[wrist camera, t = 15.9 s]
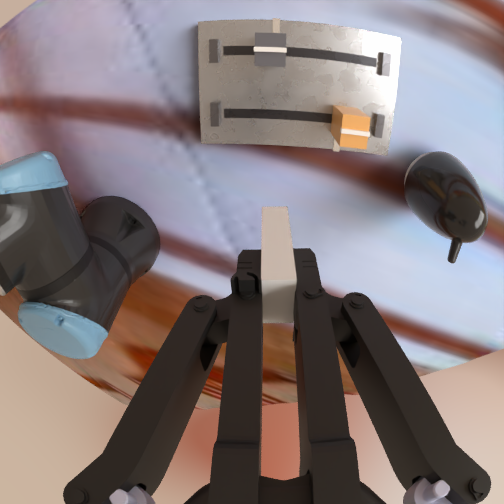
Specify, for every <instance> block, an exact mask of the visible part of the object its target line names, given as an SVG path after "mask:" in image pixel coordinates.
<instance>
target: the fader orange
mask: <svg viewBox="0 0 504 504" xmlns="http://www.w3.org/2000/svg"><path fill="white" fill-rule="evenodd" d="M370 119H371V118H370V117H369V116H368V115H366V114H365V113H364V112H362V111H361V110H359V109H358V108H354V107H347V106H339V105H333V111H332V123H331V134H332V136H333V137H334V139H335V140H336V142H337V143H338V145H339V146H340V147H350V148H358V149H366V148H367V142H368V137H370V132H369V127H370Z"/></svg>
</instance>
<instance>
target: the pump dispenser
mask: <svg viewBox="0 0 504 504" xmlns="http://www.w3.org/2000/svg"><path fill="white" fill-rule="evenodd" d="M404 194H405V199H406V202H407V204H408V206H409V208H410V209H411V210H412V212H413V213H414V214H415V215H416V216H417V217H418V218H419V219H420V220H421V221H422V222H423V223H424V224H425V225H426V226H427V227H429V228H430V229H431V230H433V231H434V232H436V233H437V234H439V235H441V236H443V237H445V238H447V239H450V240H452V241H451V246H450V250H449V255H448V261H449V262H450V263H455V261H456V259H457V256H458V253H459V251H460V248H461V246H462V243H472V242H475V241H477V240H478V239H480V238H481V237H482V235H483V234H484V232H485V230H486V228H487V223H488V213H487V207H486V203H485V200H484V197H483V195H482V192H481V190H480V188H479V186H478V184H477V182H476V180H475V179H474V177H473V176H472V174H471V173H470V171H469V170H468V169H467V168H466V167H465V165H464V164H463V163H462V162H461V161H460V160H458V159H457V158H456V157H455V156H453V155H451V154H449V153H446V152H429V153H425V154H422V155H421V156H419V157H417V158H416V159H415V160H414V161H413V162H412V163H411V165H410V166H409V168H408V170H407V172H406V175H405V181H404Z"/></svg>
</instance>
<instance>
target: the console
mask: <svg viewBox="0 0 504 504" xmlns="http://www.w3.org/2000/svg"><path fill="white" fill-rule="evenodd" d="M255 32H258V33H286V48H287V53H286V66H285V67H271V66H254V60H255V52H254V47H255ZM400 47H401V38H398V37H394V36H390V35H386V34H381V33H376V32H372V31H366V30H361V29H355V28H349V27H343V26H336V25H329V24H320V23H311V22H299V21H284V20H280V19H276V18H273V20H218V21H203V22H198V63H199V101H200V126H201V144H262V145H283V146H299V147H313V148H325V149H333V151H338V152H339V150H345V151H354V152H363V153H371V154H378V155H385V156H387V154H388V148H389V142H390V136H391V129H392V123H393V115H394V108H395V100H396V92H397V82H398V72H399V61H400ZM333 105H339V106H347V107H354V108H358V109H359V110H361V111H362V112H364V113H365V114H366V115H368V116H369V117H370V118H371V119H370V127H369V132H370V137H368V142H367V148H366V149H358V148H350V147H340V146H339V145H338V143H337V142H336V140H335V139H334V137H333V136H332V134H331V123H332V111H333Z"/></svg>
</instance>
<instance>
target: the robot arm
mask: <svg viewBox="0 0 504 504" xmlns="http://www.w3.org/2000/svg"><path fill="white" fill-rule="evenodd" d="M159 250H160V238H159V234H158V231H157V228H156V226H155V224H154V222H153V221H152V219H151V218H150V217H149V216H148V214H147V213H146V212H145V211H144V210H143V209H141V208H140V207H139V206H138V205H136V204H135V203H133V202H131V201H129V200H126V199H124V198H120V197H115V196H106V197H101V198H98V199H96V200H94V201H93V202H92V203H90V204H89V205H88V206H87V207H86V209H85V210H84V211H83V212H82V213H81V215H80V217H79V214H78V212H77V210H76V207H75V204H74V202H73V199H72V196H71V194H70V191H69V188H68V181H67V180H66V179H65V178H64V175H63V173H62V171H61V168H60V166H59V163H58V161H57V159H56V157H55V156H54V155H53V154H52V153H50V152H48V151H40V152H35V153H32V154H29V155H26V156H23V157H20V158H17V159H14V160H12V161H9V162H7V163H4V164H2V165H0V295H3V296H4V295H6V294H7V293H8V292H9V291H10V290H11V289H13V288H14V287H16V288H17V290H18V292H19V293H20V295H21V296H22V298H23V300H24V302H23V303H22V304H21V305H20V306H19V311H18V319H19V322H20V324H21V325H22V327H23V328H24V330H25V331H26V332H27V333H28V334H29V335H30V336H31V337H32V338H34V339H35V340H36V341H37V342H39V343H40V344H42V345H43V346H45V347H46V348H48V349H50V350H52V351H54V352H56V353H58V354H61V355H63V356H66V357H70V358H75V359H87V358H90V357H92V356H94V355H95V354H96V353H97V352H98V350H99V348H100V347H101V345H102V343H103V341H104V339H106V338H107V336H108V333H109V330H110V328H111V326H112V324H113V321H114V319H115V317H116V315H117V313H118V310H119V308H120V306H121V304H122V302H123V300H124V298H125V296H126V294H127V291H128V289H129V288H130V286H131V285H132V284H133V283H134V282H135V281H136V280H137V279H138V278H139V277H140V276H142V275H144V274H145V273H146V272H148V271H149V270H150V268H151V267H152V266H153V264H154V262H155V260H156V258H157V256H158V254H159ZM231 289H232V294H230V295H229V296H228V297H226V298H223V299H220V300H216V301H215V300H214V299H213V298H212V297H209V296H207V295H199V296H195V297H193V298H192V299H190V300H189V301H188V302H187V304H186V306H185V307H184V309H183V311H182V312H181V314H180V316H179V318H178V319H177V321H176V323H175V324H174V326H173V328H172V330H171V331H170V333H169V335H168V336H167V338H166V340H165V342H164V343H163V345H162V347H161V349H160V350H159V352H158V354H157V356H156V357H155V359H154V361H153V363H152V364H151V366H150V368H149V370H148V371H147V373H146V375H145V377H144V378H143V380H142V382H141V384H140V386H139V387H138V389H137V391H136V393H135V394H134V396H133V398H132V400H131V402H130V403H129V405H128V407H127V409H126V411H125V413H124V414H123V416H122V418H121V420H120V422H119V424H118V425H117V427H116V429H115V431H114V433H113V435H112V436H111V438H110V440H109V442H108V444H107V446H106V448H105V450H104V451H103V453H102V454H101V455H100V456H99V457H98V458H97V459H95V460H94V461H93V462H92V463H91V464H90V465H89V466H88V467H86V468H85V469H84V470H83V471H82V472H81V473H79V474H78V475H77V476H76V477H75V478H74V479H72V480H71V481H70V482H69V483H68V484H67V486H66V487H65V489H64V493H63V497H64V501H65V503H66V504H155V502H154V500H153V498H152V497H151V496H152V495H153V493H154V492H155V491H156V489H157V488H158V486H159V485H160V483H161V481H162V479H163V477H164V475H165V473H166V471H167V469H168V467H169V464H170V462H171V460H172V458H173V455H174V453H175V451H176V449H177V446H178V444H179V442H180V440H181V437H182V435H183V433H184V430H185V428H186V426H187V424H188V421H189V419H190V417H191V415H192V412H193V410H194V408H195V405H196V403H197V401H198V399H199V396H200V394H201V392H202V389H203V387H204V385H205V383H206V380H207V378H208V376H209V373H210V371H211V369H212V367H213V364H214V362H215V360H216V357H217V355H218V353H219V350H220V348H221V346H222V343H225V342H227V346H226V355H225V365H224V374H223V384H222V394H221V404H220V415H219V425H218V436H217V441H216V442H215V444H214V448H213V456H212V467H211V478H210V483H209V484H207V485H205V486H203V487H202V488H201V489H199V490H198V491H197V492H196V493H195V494H194V495H193V496H191V498H189V499H188V500H187V501H186V502H185V503H184V504H386V503H385V502H384V501H383V500H382V499H381V498H379V497H378V496H377V495H376V494H375V493H374V492H373V491H372V490H371V489H370V488H369V487H368V486H366V485H365V484H364V483H362V482H361V481H360V479H359V470H358V460H357V452H356V446H355V442H354V440H353V439H352V438H351V437H350V434H349V427H348V420H347V412H346V405H345V398H344V391H343V385H342V378H341V372H340V366H339V360H338V354H337V349H338V351H339V353H340V355H341V357H342V359H343V361H344V363H345V365H346V367H347V370H348V372H349V374H350V376H351V378H352V380H353V382H354V384H355V386H356V389H357V391H358V393H359V395H360V397H361V399H362V401H363V403H364V406H365V408H366V410H367V412H368V414H369V417H370V419H371V421H372V423H373V425H374V427H375V430H376V432H377V434H378V436H379V439H380V441H381V443H382V445H383V447H384V449H385V452H386V454H387V457H388V459H389V461H390V463H391V466H392V468H393V470H394V472H395V474H396V476H397V478H398V480H399V481H400V483H401V484H402V486H403V487H404V488H405V489H406V493H405V495H404V499H403V504H476V503H479V502H481V501H483V500H484V498H486V497H487V495H488V493H489V491H490V488H491V480H490V476H489V475H488V474H487V472H486V471H485V470H484V469H482V468H481V467H480V466H479V465H478V464H477V463H476V462H475V461H474V460H473V459H472V458H470V457H469V456H468V455H467V454H466V453H465V452H464V451H463V450H462V449H461V448H459V447H458V446H457V445H456V443H455V442H454V440H453V438H452V436H451V434H450V432H449V430H448V428H447V426H446V424H445V423H444V421H443V419H442V417H441V415H440V414H439V412H438V410H437V408H436V406H435V404H434V403H433V401H432V399H431V397H430V396H429V394H428V392H427V390H426V389H425V387H424V385H423V383H422V382H421V380H420V378H419V377H418V375H417V373H416V372H415V370H414V368H413V367H412V365H411V363H410V362H409V360H408V358H407V357H406V355H405V353H404V352H403V350H402V348H401V347H400V345H399V344H398V342H397V340H396V339H395V337H394V336H393V334H392V333H391V331H390V329H389V328H388V326H387V325H386V323H385V322H384V320H383V318H382V317H381V315H380V314H379V312H378V311H377V309H376V308H375V306H374V305H373V303H372V302H371V300H370V299H369V298H368V297H367V296H366V295H364V294H362V293H357V292H354V293H349V294H347V295H346V296H345V297H344V298H339V297H334V296H331V295H329V294H328V293H326V292H325V290H324V288H322V285H321V280H320V276H319V271H318V267H317V262H316V257H315V254H314V253H313V251H312V250H311V249H310V248H301V249H293V245H292V238H291V230H290V223H289V216H288V208H287V207H262V245H261V250H242V252H241V253H240V254H239V256H238V264H237V272H236V273H235V274H234V275H233V276H232V278H231ZM293 321H294V332H293V341H294V346H295V361H296V377H297V395H298V414H299V437H300V471H299V472H300V473H299V477H297V478H293V479H289V480H278V479H273V478H268V477H264V476H261V431H262V428H261V427H262V362H263V323H293ZM336 347H337V348H336Z"/></svg>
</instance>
